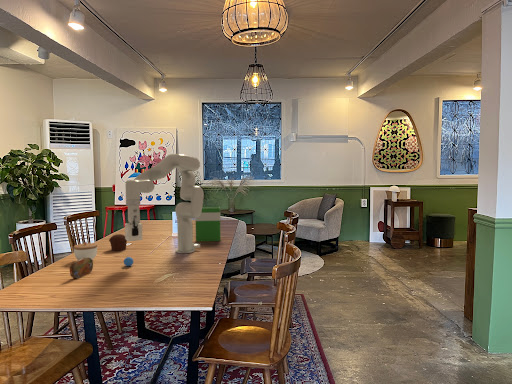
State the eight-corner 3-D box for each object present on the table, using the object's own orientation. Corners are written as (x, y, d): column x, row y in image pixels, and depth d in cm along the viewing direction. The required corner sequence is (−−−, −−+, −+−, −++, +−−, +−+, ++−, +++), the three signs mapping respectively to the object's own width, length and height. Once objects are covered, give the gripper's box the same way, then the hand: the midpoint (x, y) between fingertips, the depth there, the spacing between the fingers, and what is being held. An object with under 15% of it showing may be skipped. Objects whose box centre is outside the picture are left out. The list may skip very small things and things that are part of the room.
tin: (74, 280, 180) (73, 263, 179) (68, 280, 181) (67, 263, 180) (93, 271, 195) (93, 255, 194) (88, 271, 195) (87, 255, 195)
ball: (121, 261, 205) (128, 266, 207) (122, 263, 201) (129, 269, 203) (127, 254, 207) (134, 259, 209) (129, 256, 202) (136, 261, 204)
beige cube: (139, 237, 211) (139, 222, 210) (142, 240, 204) (142, 224, 203) (125, 239, 207) (124, 223, 206) (127, 241, 200) (127, 225, 200)
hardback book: (195, 241, 271) (195, 208, 270) (197, 239, 279) (196, 207, 277) (220, 240, 272) (219, 208, 271) (220, 238, 280) (220, 207, 278)
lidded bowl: (85, 257, 226) (85, 239, 225) (102, 258, 222) (101, 240, 221) (69, 262, 214) (68, 243, 213) (86, 264, 210) (85, 244, 209)
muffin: (127, 247, 254) (126, 232, 253) (129, 250, 244) (128, 235, 243) (108, 248, 248) (107, 234, 248) (109, 252, 239) (109, 236, 238)
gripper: (143, 203, 198) (144, 236, 199) (136, 201, 213) (137, 231, 215) (128, 204, 195) (129, 237, 196) (123, 201, 210) (123, 232, 211)
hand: (133, 234), depth 205 cm, fingers closed on beige cube, 7 cm apart
